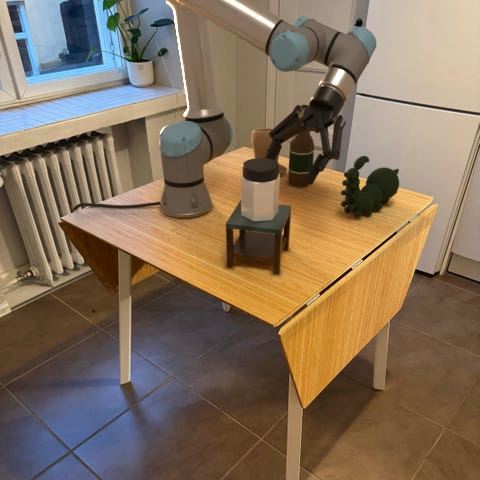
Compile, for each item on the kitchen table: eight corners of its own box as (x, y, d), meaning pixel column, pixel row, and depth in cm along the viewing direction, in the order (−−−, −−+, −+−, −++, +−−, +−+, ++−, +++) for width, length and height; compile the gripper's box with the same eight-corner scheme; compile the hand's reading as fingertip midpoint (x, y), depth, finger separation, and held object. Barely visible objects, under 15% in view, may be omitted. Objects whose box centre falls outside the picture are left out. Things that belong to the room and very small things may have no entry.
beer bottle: (315, 184, 155) (323, 106, 140) (296, 189, 152) (301, 110, 137) (302, 176, 160) (307, 101, 145) (283, 181, 157) (286, 104, 142)
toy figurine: (357, 232, 132) (407, 199, 144) (364, 168, 119) (418, 137, 131) (331, 221, 138) (381, 190, 149) (335, 158, 125) (389, 130, 136)
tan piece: (270, 164, 169) (271, 121, 160) (292, 174, 161) (294, 129, 152) (236, 174, 162) (235, 129, 153) (257, 185, 154) (257, 139, 145)
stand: (227, 267, 115) (225, 223, 108) (240, 242, 125) (240, 200, 118) (278, 274, 113) (281, 229, 105) (288, 248, 122) (291, 205, 115)
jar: (285, 215, 111) (288, 165, 103) (259, 225, 107) (260, 174, 99) (260, 203, 116) (261, 154, 109) (234, 212, 112) (233, 162, 105)
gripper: (381, 114, 107) (334, 196, 108) (297, 95, 121) (256, 168, 122) (372, 93, 100) (322, 180, 102) (284, 76, 114) (241, 153, 116)
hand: (286, 174), depth 112 cm, fingers open, 13 cm apart
